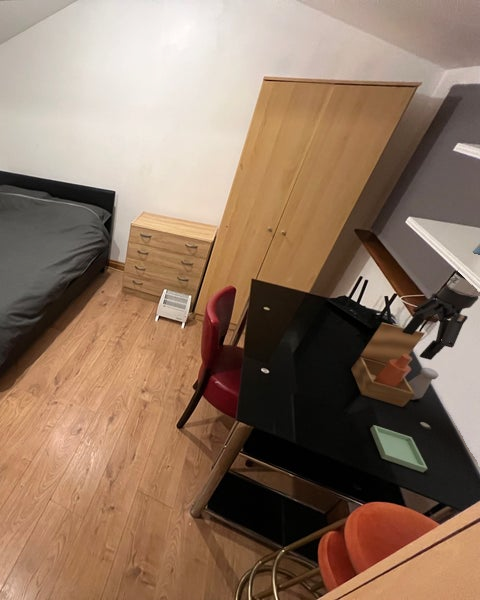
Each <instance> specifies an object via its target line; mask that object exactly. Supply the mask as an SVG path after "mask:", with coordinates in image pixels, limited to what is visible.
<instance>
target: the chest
mask: <svg viewBox="0 0 480 600" xmlns="http://www.w3.org/2000/svg"><path fill="white" fill-rule="evenodd" d="M386 364H387V363H384V362H381V361H377V360H373V359H369V358H366V357H362V356H359V358H357V360H356V362H355V363H354V364H353V365H352V366H351V368H350V370H351V372H352V375H353V377H354V380H355V382H356V384H357V388H358V389H359V391H360V395H361V396H364V397H368V398H371V399H375V400H378V401H381V402H384V403H387V404H391V405H395V406H398V407H402V408H404V407H405V406H406V405H407V404H408V403H409V402H410V400H411V398H412V397H413V396H414V395H415V394H414V392H413V390H412V389H411V387H410V385H409V384H408V382H409V381H408V379H406V377H405V378H404V379H403V380H402V381H401V382H400V383H399V384H398V385H397V386H396V388H395V387H392V386H388V385H385V384H381V383H378V382H374V381H373V380H374V379H375V377H376V376H377V375H378V374H379V372H380V371H381V370H382V369H383V368H384V366H385V365H386Z"/></svg>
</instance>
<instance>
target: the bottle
mask: <svg viewBox="0 0 480 600" xmlns="http://www.w3.org/2000/svg"><path fill="white" fill-rule="evenodd" d="M411 361H413V357H412V356H411V355H410V354H409V355H406V354H402V355H401V356H400V358H399V359H398V360H396V359H391V360H389V362H388V363H385V364H386V365H385V366H384V368H383V369H382V370H381V371H380V372H379V374H378V375H377V376H376V377H375V379H374V380H373V381H374V382H378V383H381V384H385V385H388V386H392V387H395V388H396V386H397V385H398V384H399V383H400V382H401V381H402V380H403V379H404V378H405V379H406V376H407V375H408V374H409V373H410V372H411V371H412V368H411V367H410V365H409V364H410V362H411Z"/></svg>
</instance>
